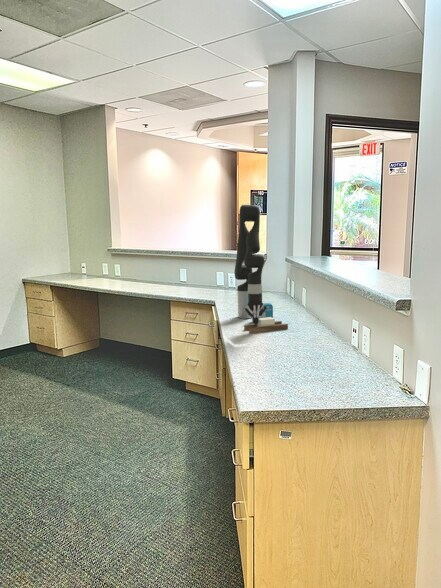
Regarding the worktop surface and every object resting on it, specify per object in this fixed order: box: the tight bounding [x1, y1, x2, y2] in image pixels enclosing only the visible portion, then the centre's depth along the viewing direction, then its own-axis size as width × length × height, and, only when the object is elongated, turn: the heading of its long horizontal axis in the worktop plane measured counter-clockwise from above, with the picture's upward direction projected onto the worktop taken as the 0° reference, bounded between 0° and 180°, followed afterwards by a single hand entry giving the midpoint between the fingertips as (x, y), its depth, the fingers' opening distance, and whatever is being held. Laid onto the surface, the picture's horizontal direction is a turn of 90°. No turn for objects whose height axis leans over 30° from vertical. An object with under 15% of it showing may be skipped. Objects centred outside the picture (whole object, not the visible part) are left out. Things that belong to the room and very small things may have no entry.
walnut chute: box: [243, 320, 289, 335], centre depth 230 cm, size 10×22×4 cm, turn 108°
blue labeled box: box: [251, 302, 274, 324], centre depth 248 cm, size 12×4×12 cm, turn 89°
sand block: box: [257, 317, 276, 327], centre depth 229 cm, size 5×8×6 cm, turn 108°
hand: (255, 323), depth 228 cm, fingers closed
